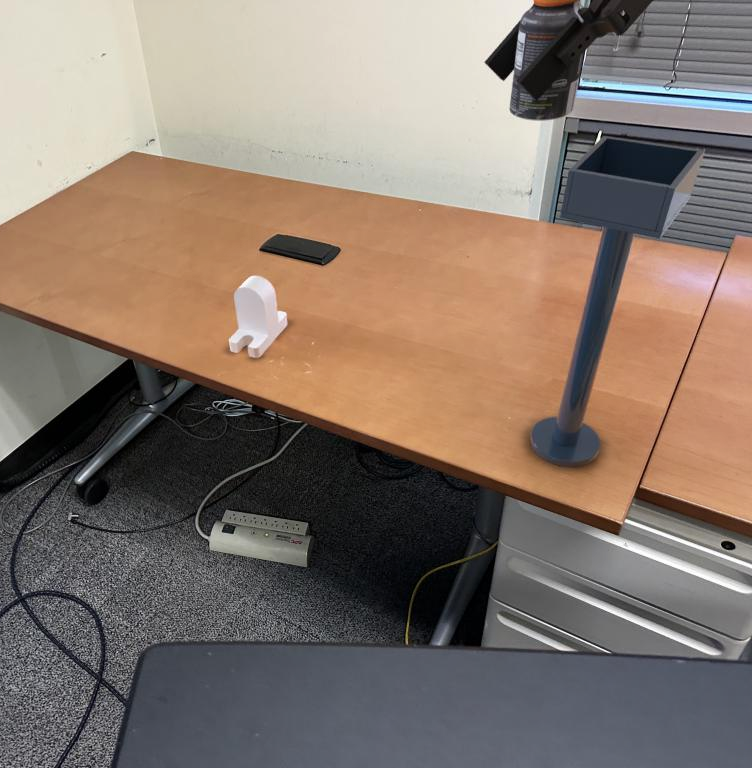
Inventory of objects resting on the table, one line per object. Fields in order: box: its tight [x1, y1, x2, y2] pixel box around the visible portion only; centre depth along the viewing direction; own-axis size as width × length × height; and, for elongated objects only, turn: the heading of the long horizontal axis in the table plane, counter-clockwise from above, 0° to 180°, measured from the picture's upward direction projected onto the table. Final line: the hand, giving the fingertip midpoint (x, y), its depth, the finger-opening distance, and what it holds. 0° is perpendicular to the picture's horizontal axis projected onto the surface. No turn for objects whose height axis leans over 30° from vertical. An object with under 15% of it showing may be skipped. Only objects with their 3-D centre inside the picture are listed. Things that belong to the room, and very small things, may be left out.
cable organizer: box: [228, 275, 288, 359], centre depth 104 cm, size 5×10×10 cm, turn 149°
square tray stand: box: [529, 135, 706, 468], centre depth 72 cm, size 8×8×36 cm
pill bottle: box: [509, 0, 585, 122], centre depth 64 cm, size 6×6×11 cm
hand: (509, 80), depth 65 cm, fingers closed on pill bottle, 6 cm apart
